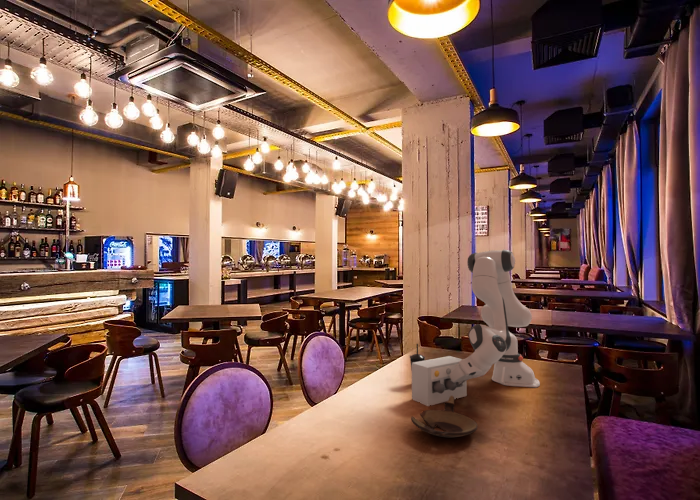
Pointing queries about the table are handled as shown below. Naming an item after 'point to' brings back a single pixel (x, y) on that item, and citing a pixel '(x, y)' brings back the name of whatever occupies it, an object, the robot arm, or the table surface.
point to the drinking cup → (416, 357)
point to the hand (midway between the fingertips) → (460, 381)
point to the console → (434, 380)
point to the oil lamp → (446, 422)
